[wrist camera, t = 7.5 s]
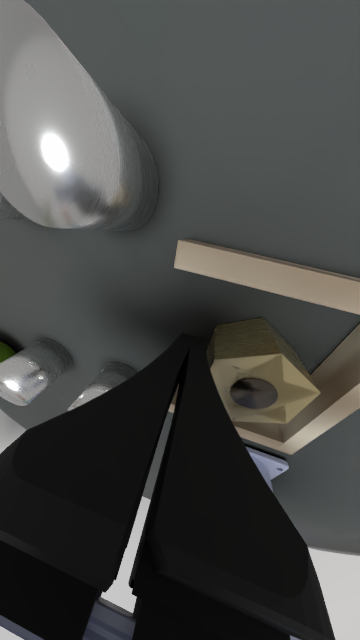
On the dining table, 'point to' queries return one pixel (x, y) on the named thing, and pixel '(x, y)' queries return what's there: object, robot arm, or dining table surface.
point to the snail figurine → (5, 352)
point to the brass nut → (258, 373)
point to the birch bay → (305, 284)
